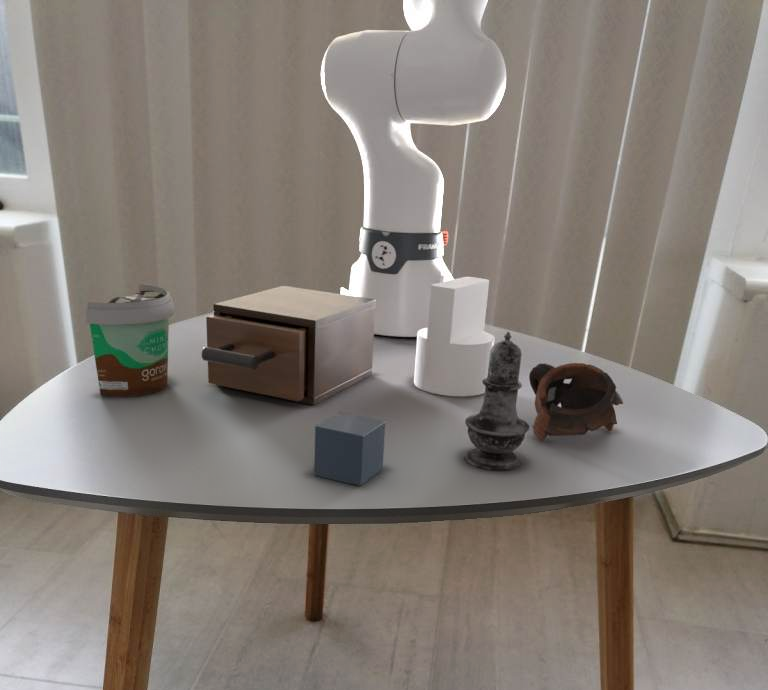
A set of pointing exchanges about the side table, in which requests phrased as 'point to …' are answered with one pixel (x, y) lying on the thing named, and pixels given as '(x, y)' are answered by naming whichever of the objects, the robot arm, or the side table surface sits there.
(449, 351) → the cylinder with rectangular tab
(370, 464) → the block
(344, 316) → the cabinet
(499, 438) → the salt shaker
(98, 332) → the food container
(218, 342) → the drawer
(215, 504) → the side table surface
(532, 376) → the pottery mug
